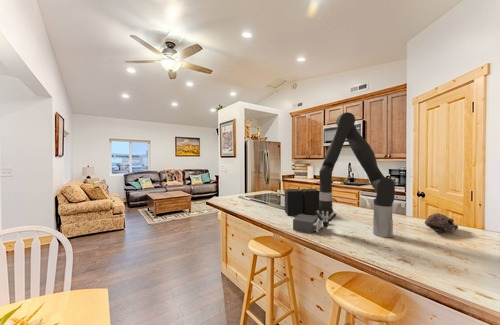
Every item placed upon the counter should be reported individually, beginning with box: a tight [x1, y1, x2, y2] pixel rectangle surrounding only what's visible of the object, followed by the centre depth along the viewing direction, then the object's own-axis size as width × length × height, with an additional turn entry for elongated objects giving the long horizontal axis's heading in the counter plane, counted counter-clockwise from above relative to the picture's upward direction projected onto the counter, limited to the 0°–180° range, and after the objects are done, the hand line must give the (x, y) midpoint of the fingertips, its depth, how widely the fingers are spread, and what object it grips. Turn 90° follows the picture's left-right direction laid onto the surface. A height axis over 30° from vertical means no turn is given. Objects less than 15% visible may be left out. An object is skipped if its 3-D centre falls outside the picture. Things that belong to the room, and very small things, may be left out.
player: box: [292, 213, 319, 234], centre depth 136 cm, size 12×14×6 cm
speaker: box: [284, 188, 321, 216], centre depth 169 cm, size 25×11×19 cm, turn 93°
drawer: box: [313, 215, 323, 233], centre depth 134 cm, size 9×13×6 cm
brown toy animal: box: [424, 212, 459, 233], centre depth 127 cm, size 25×12×10 cm, turn 121°
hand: (325, 227), depth 130 cm, fingers closed
